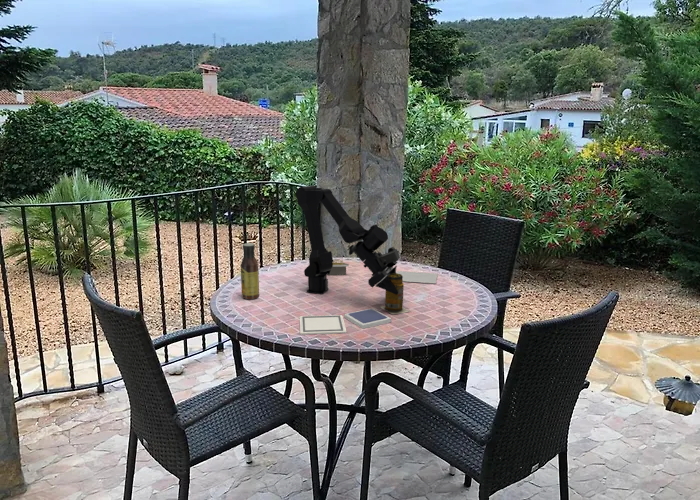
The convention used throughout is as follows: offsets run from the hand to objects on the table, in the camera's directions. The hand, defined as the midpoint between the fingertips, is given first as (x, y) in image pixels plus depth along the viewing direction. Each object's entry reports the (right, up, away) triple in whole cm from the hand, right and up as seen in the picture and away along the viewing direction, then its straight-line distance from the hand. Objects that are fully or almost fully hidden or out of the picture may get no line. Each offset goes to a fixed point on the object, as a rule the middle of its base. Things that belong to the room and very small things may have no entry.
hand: (399, 290), depth 186 cm
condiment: (-2, -7, +1) cm, 7 cm away
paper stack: (+5, +1, +34) cm, 34 cm away
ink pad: (-11, -9, -8) cm, 16 cm away
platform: (-23, +3, +41) cm, 46 cm away
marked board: (-26, -10, -13) cm, 30 cm away
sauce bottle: (-53, -3, +12) cm, 54 cm away
